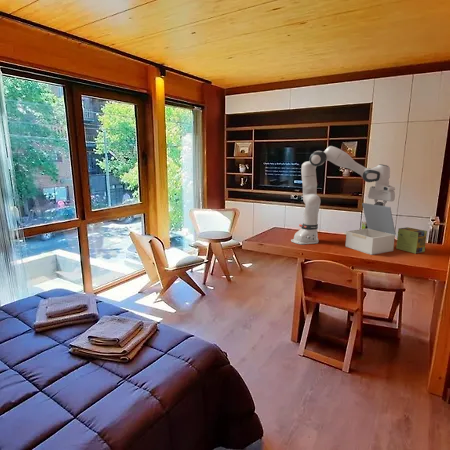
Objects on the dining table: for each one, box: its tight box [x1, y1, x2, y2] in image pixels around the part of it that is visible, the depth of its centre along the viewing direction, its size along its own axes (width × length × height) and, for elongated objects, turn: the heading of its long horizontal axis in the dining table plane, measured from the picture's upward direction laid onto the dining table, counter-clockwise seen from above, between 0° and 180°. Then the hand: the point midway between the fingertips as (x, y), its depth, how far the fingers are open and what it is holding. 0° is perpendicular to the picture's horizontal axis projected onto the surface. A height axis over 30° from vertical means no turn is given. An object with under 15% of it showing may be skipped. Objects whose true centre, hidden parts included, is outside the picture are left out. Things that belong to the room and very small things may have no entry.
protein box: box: [395, 226, 428, 254], centre depth 236 cm, size 10×15×16 cm
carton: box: [345, 228, 396, 256], centre depth 240 cm, size 22×24×12 cm
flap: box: [361, 201, 396, 236], centre depth 240 cm, size 22×24×6 cm
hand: (379, 206), depth 238 cm, fingers closed on flap, 4 cm apart
